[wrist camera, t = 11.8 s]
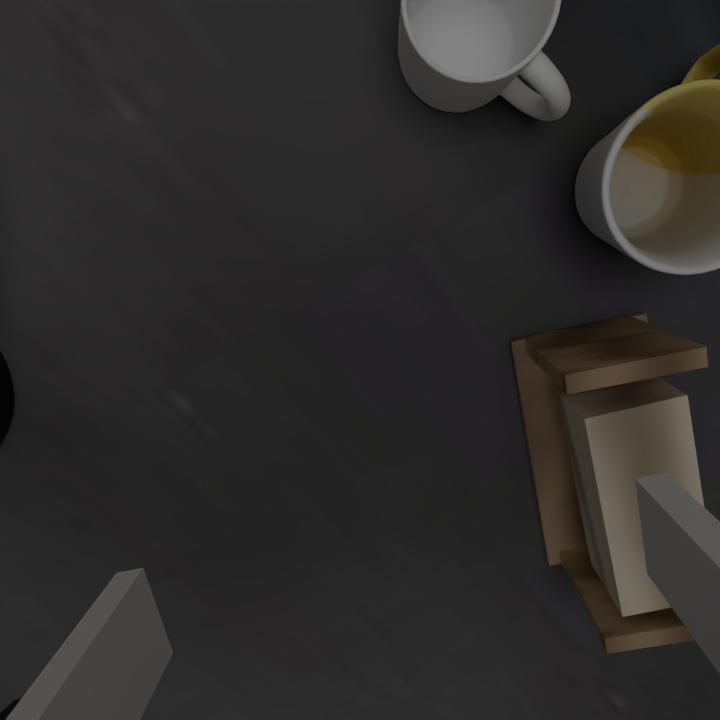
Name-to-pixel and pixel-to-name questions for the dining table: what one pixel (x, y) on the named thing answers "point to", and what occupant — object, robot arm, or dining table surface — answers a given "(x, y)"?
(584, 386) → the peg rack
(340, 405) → the dining table surface
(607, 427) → the beige wooden block
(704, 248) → the mug
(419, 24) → the mug
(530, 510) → the dining table surface
